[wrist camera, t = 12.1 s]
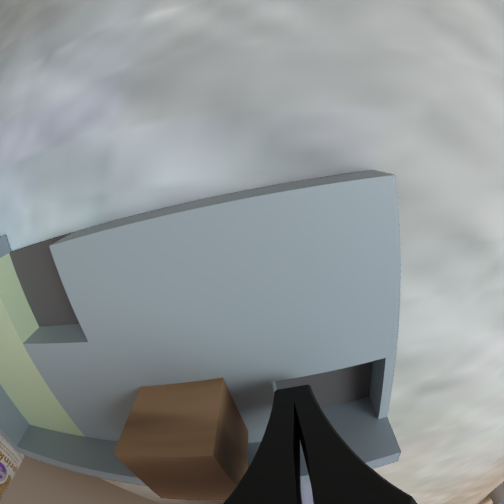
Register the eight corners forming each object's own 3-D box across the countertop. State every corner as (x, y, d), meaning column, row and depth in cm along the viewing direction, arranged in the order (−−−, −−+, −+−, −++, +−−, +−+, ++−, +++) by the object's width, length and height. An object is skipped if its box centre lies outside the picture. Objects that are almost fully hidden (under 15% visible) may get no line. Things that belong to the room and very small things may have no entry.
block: (248, 431, 13) (246, 498, 9) (175, 437, 13) (161, 497, 9) (223, 377, 12) (212, 455, 8) (140, 386, 12) (113, 453, 8)
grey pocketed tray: (375, 402, 15) (397, 461, 11) (39, 415, 17) (17, 452, 12) (370, 145, 10) (431, 146, 6) (-44, 256, 12) (-87, 281, 8)
